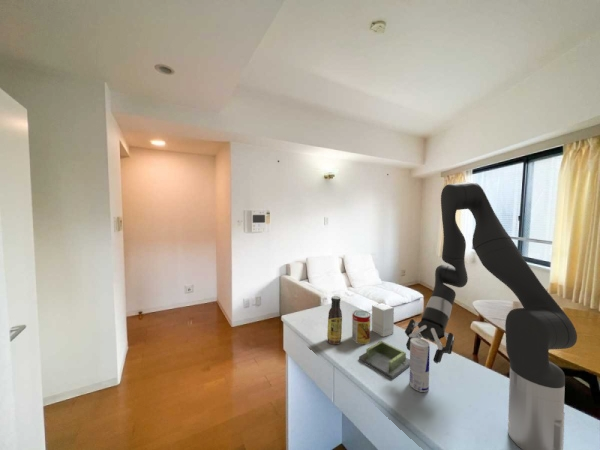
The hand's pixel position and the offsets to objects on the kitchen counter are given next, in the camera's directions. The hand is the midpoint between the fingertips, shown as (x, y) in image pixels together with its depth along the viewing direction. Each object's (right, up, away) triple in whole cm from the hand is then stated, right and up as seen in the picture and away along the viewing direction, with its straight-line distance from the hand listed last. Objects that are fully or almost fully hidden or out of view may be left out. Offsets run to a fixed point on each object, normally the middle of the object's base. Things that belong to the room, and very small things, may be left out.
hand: (421, 355), depth 75 cm
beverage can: (-1, -10, -1) cm, 10 cm away
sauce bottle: (-25, -9, +27) cm, 37 cm away
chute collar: (-7, -9, +12) cm, 17 cm away
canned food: (-12, -9, +29) cm, 32 cm away
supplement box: (0, -9, +36) cm, 37 cm away
